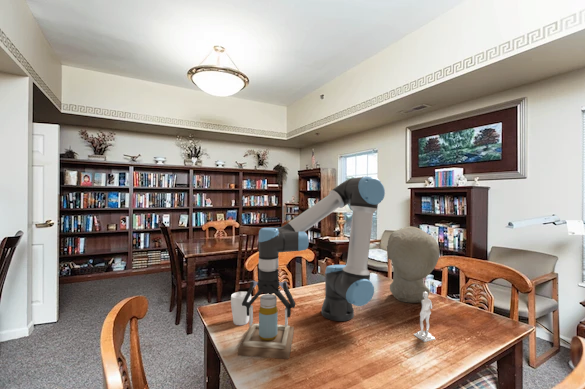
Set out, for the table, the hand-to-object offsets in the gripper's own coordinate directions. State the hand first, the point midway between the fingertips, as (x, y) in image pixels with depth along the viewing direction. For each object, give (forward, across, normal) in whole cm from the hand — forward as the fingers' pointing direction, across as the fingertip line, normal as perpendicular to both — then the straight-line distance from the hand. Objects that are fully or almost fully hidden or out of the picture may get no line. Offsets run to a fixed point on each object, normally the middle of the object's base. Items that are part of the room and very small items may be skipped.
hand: (268, 324), depth 105 cm
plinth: (+7, 0, 0) cm, 7 cm away
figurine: (+8, -62, -12) cm, 63 cm away
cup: (+7, +15, -16) cm, 23 cm away
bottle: (+5, 0, 0) cm, 5 cm away
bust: (+8, -68, -47) cm, 83 cm away
